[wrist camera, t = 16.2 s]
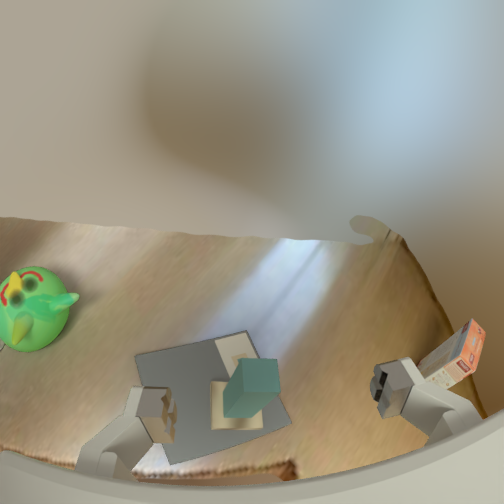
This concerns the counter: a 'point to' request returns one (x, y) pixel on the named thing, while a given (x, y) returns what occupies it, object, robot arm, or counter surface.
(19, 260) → the counter surface
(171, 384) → the base plate
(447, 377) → the cracker box
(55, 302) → the toy bird
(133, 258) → the counter surface
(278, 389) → the column
